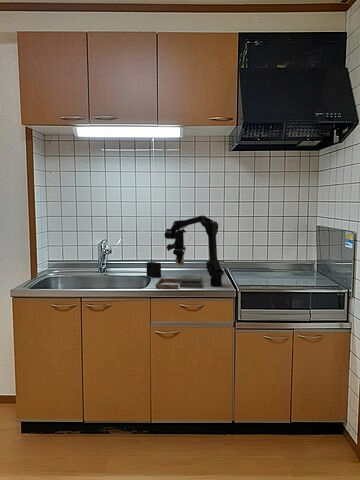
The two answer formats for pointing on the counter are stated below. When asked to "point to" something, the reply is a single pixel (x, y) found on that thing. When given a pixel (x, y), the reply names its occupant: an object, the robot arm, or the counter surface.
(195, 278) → the platform
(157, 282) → the cubby
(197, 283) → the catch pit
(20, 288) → the counter surface
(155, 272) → the electronic device
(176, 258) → the beech cube
